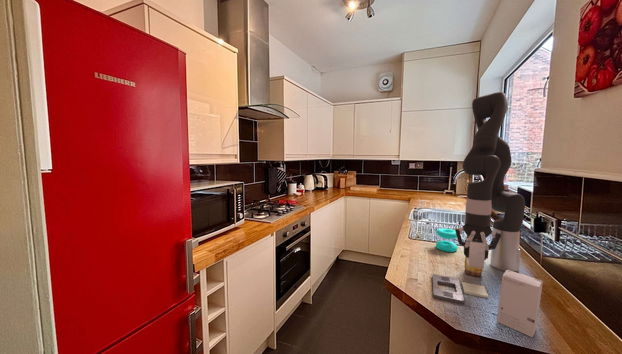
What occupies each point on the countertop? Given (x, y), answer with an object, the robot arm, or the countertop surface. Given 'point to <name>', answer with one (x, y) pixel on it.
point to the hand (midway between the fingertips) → (475, 257)
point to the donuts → (446, 245)
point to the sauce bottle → (472, 269)
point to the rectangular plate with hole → (445, 294)
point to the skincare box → (519, 302)
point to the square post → (476, 254)
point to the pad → (474, 290)
